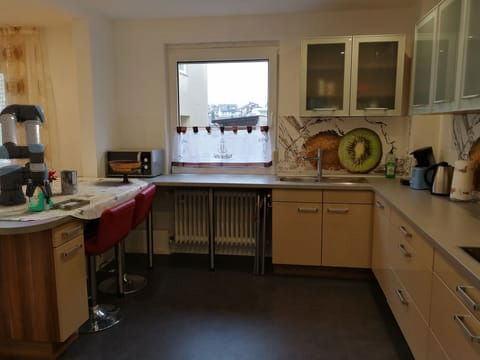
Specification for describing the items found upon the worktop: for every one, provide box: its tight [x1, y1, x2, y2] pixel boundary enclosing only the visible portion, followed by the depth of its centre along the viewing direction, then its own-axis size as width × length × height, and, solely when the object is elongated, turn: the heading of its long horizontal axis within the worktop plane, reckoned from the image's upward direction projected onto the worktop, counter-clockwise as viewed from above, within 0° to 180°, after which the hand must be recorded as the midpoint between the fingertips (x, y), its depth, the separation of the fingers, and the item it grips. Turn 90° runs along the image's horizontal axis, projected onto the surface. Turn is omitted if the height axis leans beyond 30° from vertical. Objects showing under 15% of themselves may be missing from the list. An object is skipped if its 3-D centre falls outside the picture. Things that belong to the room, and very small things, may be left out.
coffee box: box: [59, 169, 79, 195], centre depth 261 cm, size 9×6×16 cm
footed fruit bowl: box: [106, 159, 145, 185], centre depth 310 cm, size 36×26×18 cm
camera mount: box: [27, 191, 55, 212], centre depth 215 cm, size 12×8×10 cm, turn 165°
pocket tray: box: [52, 198, 91, 211], centre depth 225 cm, size 13×17×2 cm
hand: (39, 208), depth 216 cm, fingers open, 9 cm apart
